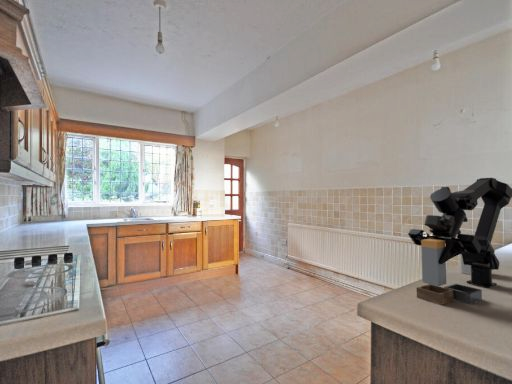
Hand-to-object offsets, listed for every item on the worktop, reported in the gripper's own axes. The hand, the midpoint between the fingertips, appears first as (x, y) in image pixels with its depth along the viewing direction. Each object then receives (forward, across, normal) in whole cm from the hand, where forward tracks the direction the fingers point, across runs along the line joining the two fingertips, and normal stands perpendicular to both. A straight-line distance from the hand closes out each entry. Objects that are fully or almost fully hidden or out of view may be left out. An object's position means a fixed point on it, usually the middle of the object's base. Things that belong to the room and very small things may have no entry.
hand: (430, 261), depth 81 cm
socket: (+2, +4, +14) cm, 15 cm away
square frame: (+7, 0, +9) cm, 11 cm away
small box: (-22, -8, +39) cm, 46 cm away
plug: (+4, 0, +6) cm, 7 cm away
